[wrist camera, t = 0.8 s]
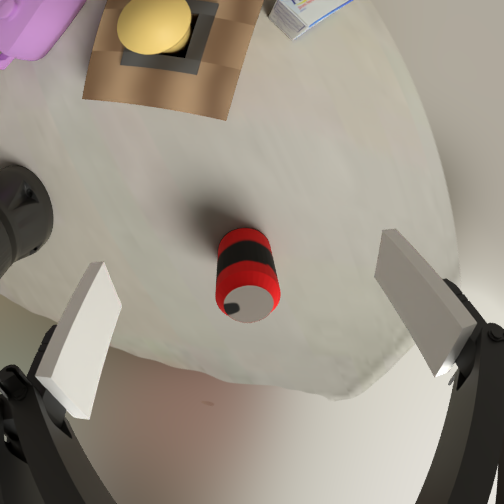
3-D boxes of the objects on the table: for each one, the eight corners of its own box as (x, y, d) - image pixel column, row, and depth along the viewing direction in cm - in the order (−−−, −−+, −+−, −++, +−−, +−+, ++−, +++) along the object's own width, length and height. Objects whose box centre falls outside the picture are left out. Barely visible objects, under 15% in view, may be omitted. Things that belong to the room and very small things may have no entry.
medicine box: (291, 41, 29) (308, 29, 21) (266, 17, 27) (276, -3, 19) (336, 10, 26) (364, -6, 19) (313, -14, 24) (334, -36, 17)
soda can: (211, 234, 42) (205, 286, 32) (264, 221, 41) (275, 271, 31) (226, 276, 46) (226, 333, 35) (274, 264, 45) (287, 320, 35)
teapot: (72, -45, 17) (37, -65, 8) (114, -22, 21) (81, -46, 12) (0, 52, 23) (-44, 56, 14) (34, 81, 27) (-12, 88, 18)
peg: (138, 58, 24) (109, 51, 17) (153, 9, 22) (129, -12, 14) (192, 65, 26) (178, 57, 18) (207, 16, 23) (199, -8, 16)
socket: (106, 95, 30) (79, 99, 24) (138, -16, 22) (118, -35, 16) (227, 114, 33) (226, 121, 27) (263, 0, 25) (270, -19, 19)
